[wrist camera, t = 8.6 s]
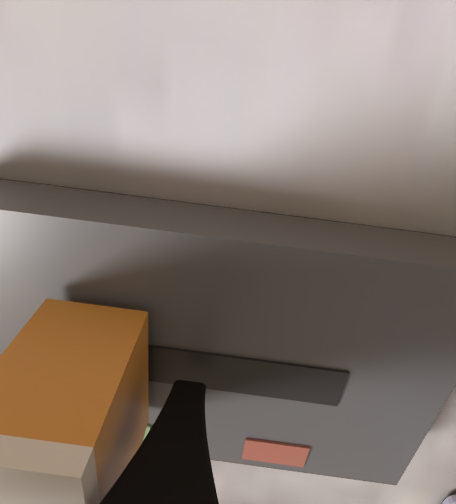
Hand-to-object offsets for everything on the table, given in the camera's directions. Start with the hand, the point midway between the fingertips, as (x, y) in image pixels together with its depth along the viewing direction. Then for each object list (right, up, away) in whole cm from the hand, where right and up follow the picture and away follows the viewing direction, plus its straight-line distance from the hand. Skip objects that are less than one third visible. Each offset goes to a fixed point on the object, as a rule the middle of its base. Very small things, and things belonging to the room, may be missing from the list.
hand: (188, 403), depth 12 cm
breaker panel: (+1, +2, +3) cm, 3 cm away
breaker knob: (-3, +1, +1) cm, 3 cm away
